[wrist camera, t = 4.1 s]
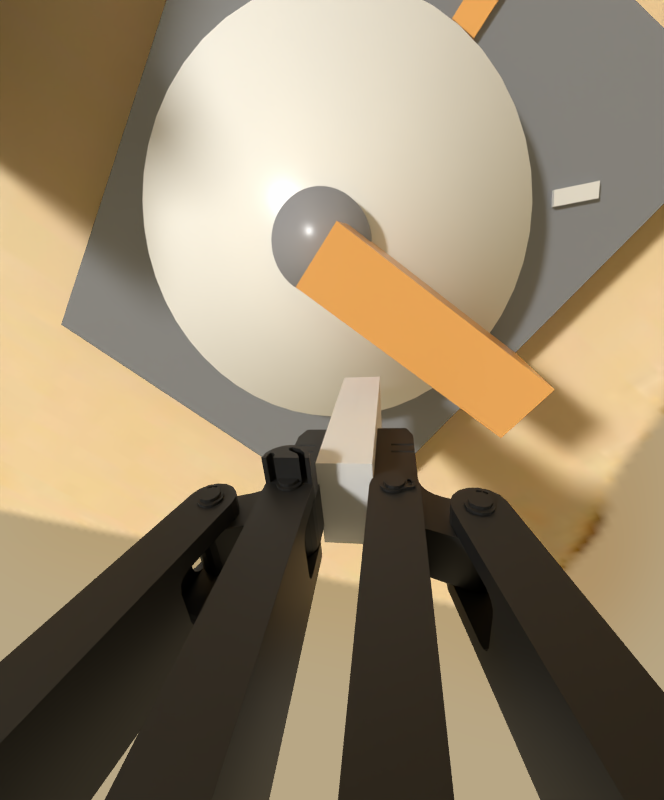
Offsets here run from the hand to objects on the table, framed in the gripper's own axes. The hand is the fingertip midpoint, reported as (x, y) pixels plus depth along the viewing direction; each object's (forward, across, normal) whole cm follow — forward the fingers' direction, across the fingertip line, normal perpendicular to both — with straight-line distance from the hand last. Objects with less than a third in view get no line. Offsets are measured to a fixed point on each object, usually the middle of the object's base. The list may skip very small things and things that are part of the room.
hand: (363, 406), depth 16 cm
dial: (+3, -1, +6) cm, 7 cm away
